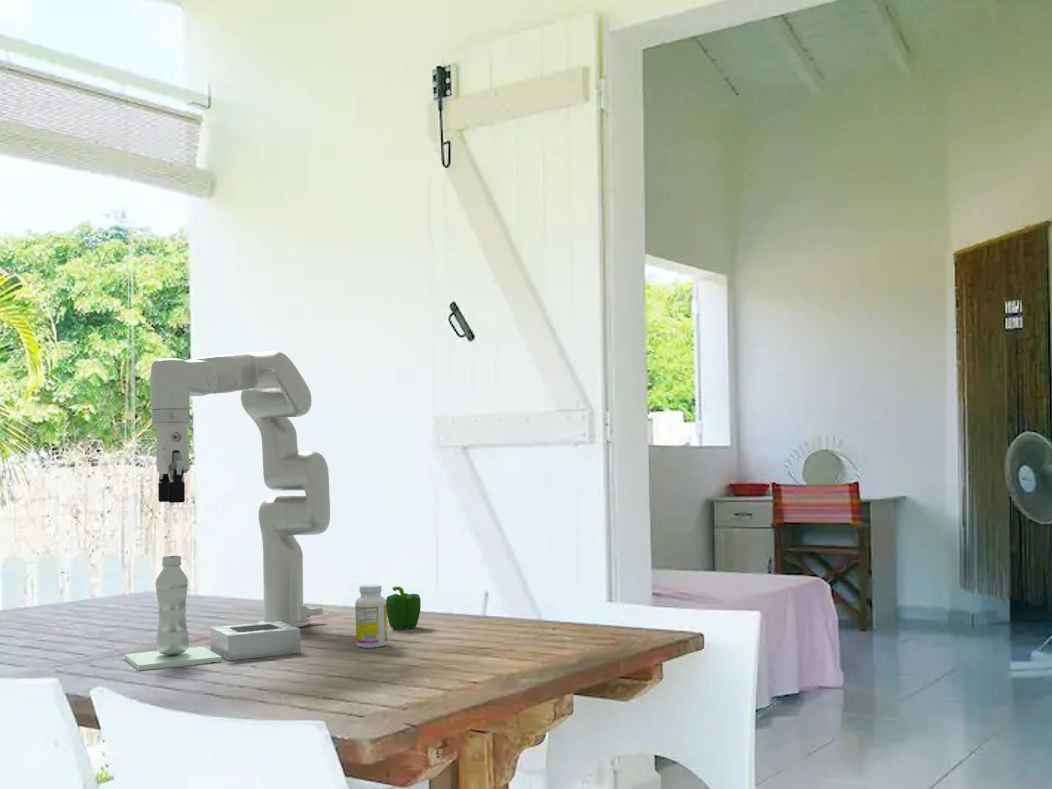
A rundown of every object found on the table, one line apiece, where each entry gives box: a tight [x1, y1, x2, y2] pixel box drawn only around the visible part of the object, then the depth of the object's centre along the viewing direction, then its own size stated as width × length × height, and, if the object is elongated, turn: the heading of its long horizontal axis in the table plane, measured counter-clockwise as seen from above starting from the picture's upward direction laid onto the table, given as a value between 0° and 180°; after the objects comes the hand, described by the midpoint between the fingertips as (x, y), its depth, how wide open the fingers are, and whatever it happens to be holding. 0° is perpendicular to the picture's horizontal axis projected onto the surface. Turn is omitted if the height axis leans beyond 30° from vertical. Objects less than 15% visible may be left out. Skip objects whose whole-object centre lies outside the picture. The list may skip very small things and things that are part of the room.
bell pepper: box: [385, 585, 422, 630], centre depth 272 cm, size 8×8×10 cm
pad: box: [124, 646, 223, 671], centre depth 233 cm, size 16×16×1 cm
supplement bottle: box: [354, 584, 388, 649], centre depth 246 cm, size 7×7×13 cm
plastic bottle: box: [154, 555, 190, 656], centre depth 234 cm, size 6×7×20 cm
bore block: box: [210, 621, 302, 661], centre depth 241 cm, size 15×15×5 cm
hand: (171, 502), depth 235 cm, fingers open, 9 cm apart
